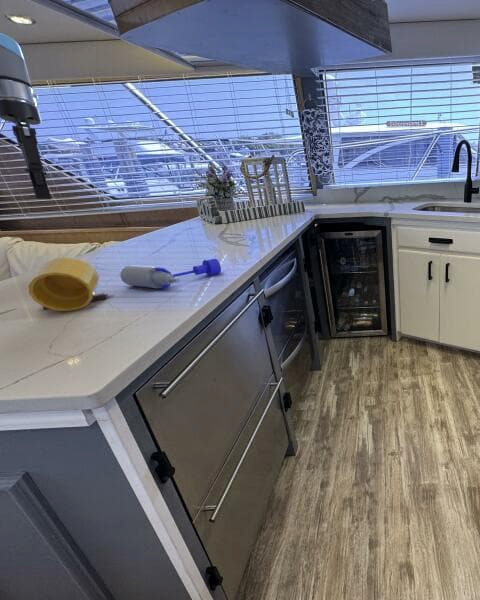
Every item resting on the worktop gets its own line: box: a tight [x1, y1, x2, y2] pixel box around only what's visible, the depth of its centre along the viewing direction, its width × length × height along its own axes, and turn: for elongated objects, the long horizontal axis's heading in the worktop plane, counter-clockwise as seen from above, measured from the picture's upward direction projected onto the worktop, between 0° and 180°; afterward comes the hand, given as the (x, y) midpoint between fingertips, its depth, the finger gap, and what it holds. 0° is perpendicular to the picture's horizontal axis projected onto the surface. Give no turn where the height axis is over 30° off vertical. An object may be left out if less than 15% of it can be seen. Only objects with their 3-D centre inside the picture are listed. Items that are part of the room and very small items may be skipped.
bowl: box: [28, 257, 100, 312], centre depth 76 cm, size 10×10×8 cm
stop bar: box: [41, 292, 109, 310], centre depth 80 cm, size 12×2×1 cm, turn 119°
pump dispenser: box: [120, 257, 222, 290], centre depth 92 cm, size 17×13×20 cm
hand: (43, 198), depth 88 cm, fingers closed
